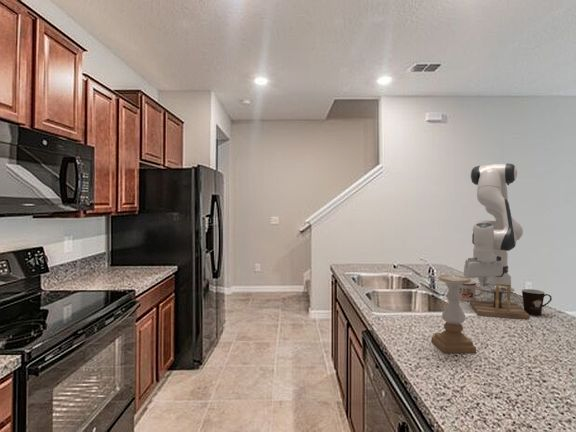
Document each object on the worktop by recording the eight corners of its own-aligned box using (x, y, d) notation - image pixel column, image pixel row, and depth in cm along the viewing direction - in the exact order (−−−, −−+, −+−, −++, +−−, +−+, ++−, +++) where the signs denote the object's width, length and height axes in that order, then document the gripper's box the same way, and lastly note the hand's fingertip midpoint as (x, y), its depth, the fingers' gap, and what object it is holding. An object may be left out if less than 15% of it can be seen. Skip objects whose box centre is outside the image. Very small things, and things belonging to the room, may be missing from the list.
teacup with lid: (455, 300, 198) (455, 277, 197) (456, 296, 206) (457, 274, 206) (482, 303, 192) (482, 279, 192) (482, 299, 201) (482, 276, 200)
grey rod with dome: (477, 285, 189) (477, 280, 189) (488, 285, 190) (488, 280, 190) (503, 295, 170) (503, 289, 170) (515, 295, 170) (515, 289, 170)
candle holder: (461, 341, 140) (462, 274, 139) (476, 353, 129) (478, 280, 128) (430, 341, 140) (431, 274, 139) (444, 353, 129) (445, 281, 128)
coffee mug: (521, 314, 173) (522, 292, 173) (520, 309, 181) (521, 288, 180) (553, 318, 168) (554, 295, 167) (550, 313, 175) (551, 291, 175)
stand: (469, 304, 191) (470, 274, 190) (515, 307, 185) (516, 277, 185) (477, 315, 172) (478, 283, 171) (529, 319, 166) (530, 285, 166)
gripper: (470, 259, 180) (470, 289, 181) (505, 257, 186) (504, 286, 187) (460, 257, 186) (460, 286, 187) (494, 255, 192) (494, 283, 193)
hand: (482, 286), depth 187 cm, fingers closed
